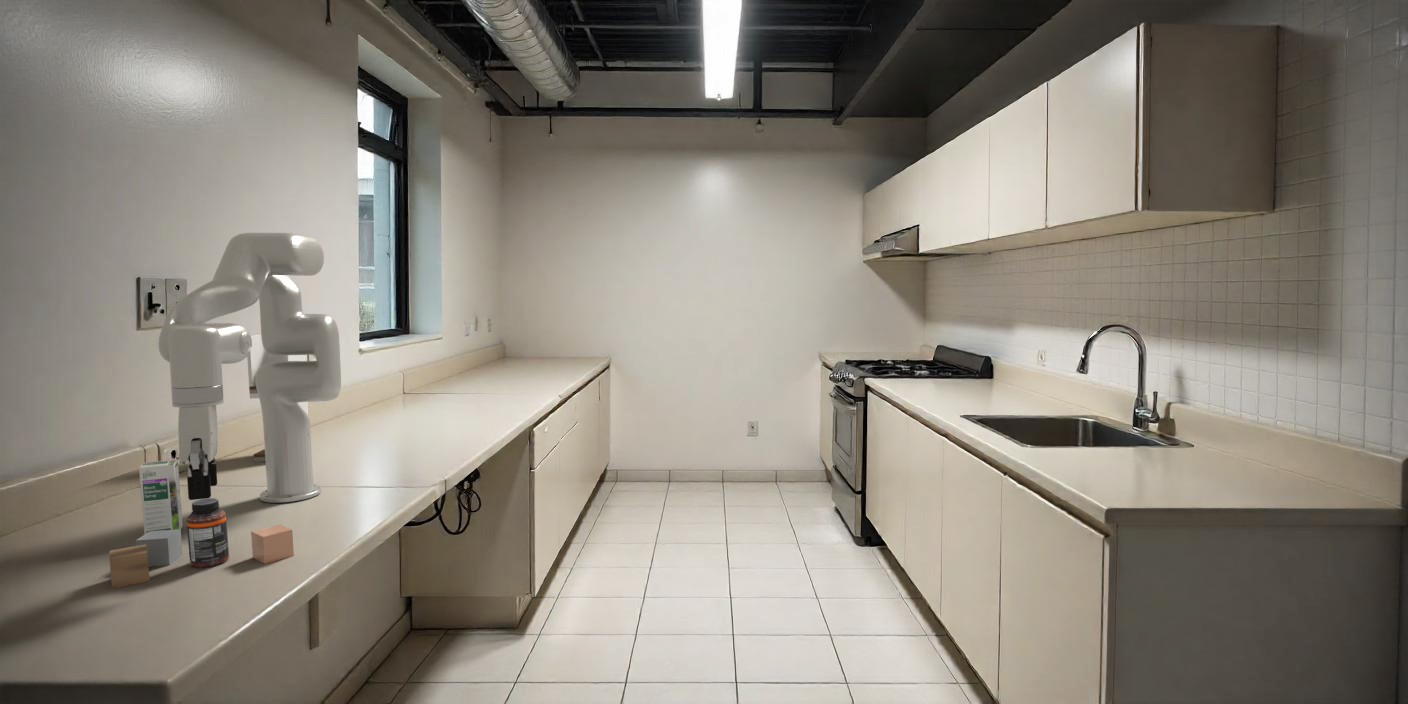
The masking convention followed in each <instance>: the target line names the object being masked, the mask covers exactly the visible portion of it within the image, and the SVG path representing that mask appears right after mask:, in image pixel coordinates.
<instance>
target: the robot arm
mask: <svg viewBox="0 0 1408 704" xmlns="http://www.w3.org/2000/svg"><path fill="white" fill-rule="evenodd" d="M324 262H325V255H324V250H323V247H322V245H321V244H320V242H319V241H318V240H317V239H315V238H314V237H311V236H307V235H306V236H305V235H301V234H297V233H291V232H289V233H288V232H242V233H239V234H236V235H234V236H232V238H230V240H229V242H228V243H227V245H226V247H225V250H224V252H223V255H222V257H221V259H220V261H219V263H218V266H217V267H216V271H215V273H214V276H213V278H212V280H210V281H208V282H207V283H204V284H203V285H202V286H200V287H198V288H196V289H195V290H193V291H191V292H190V293H188V294H187V295H185V296H183V297H182V298H181V299H179V300H178V301H177V302H175V304H174V305H172V307H171V308H170V310H169V312H168V314H167V316H166V319H165V320H164V322H163V325H162V327H161V330H160V333H159V337H158V351H159V353H160V356H161V357H162V359H164V360H165V361H167V363H169V371H170V373H169V374H170V386H171V388H170V391H171V402H172V404H171V405H172V407H173V408H178V416H177V417H178V422H177V423H178V425H177V426H178V429H177V430H178V431H177V432H178V464H180V465H185V464H186V463H187V462H188V464H187V478H186V479H187V495H188V497H187V498H188V500H189V501H194V500H195V501H197V500H201V499H207V498H212V490H211V489H212V488H211V487H214V486H217V485H218V471H217V463H216V456H217V454H218V443H219V442H218V438H219V437H218V413H217V405H221V404H224V403H225V402H224V400H225V399H224V386H223V372H222V371H223V370H222V369H223V367H222V366H223V365H228V364H230V365H231V364H237V363H240V362H242V361H244V360H245V359H247V356H248V355H249V353H250V351H251V347H252V339H251V336H252V335H251V334H250V332H249V331H248V330H247V328H245V326H242V325H239V324H237V323H228V322H222V323H221V322H220V323H217V322H214V323H212V322H210V323H209V321H211V320H213V319H216V318H219V317H223V316H226V315H229V314H233V313H236V312H239V311H241V310H244V309H247V308H248V307H251V306H253V305H254V304H256V303H257V302H258V301H259V302H258V303H259V316H260V320H259V321H260V334H261V337H262V344H263V347H264V349H265V351H266V352H267V353H270V354H273V355H305V356H309V355H310V356H313V357H315V360H305V361H279V362H272V363H268V364H265V365H264V366H262V367H261V368H260V369H259V370H258V372H257V374H256V388H257V392H258V395H259V398H258V399H259V403H260V408H261V414H262V416H261V417H262V425H263V426H262V427H263V428H262V429H263V442H264V445H263V446H264V449H265V461H264V462H265V474H266V477H265V478H266V490H264V491H262V492H260V494H259V500H260V501H262V502H265V503H271V504H272V503H273V504H274V503H276V504H277V503H278V504H279V503H280V504H281V503H292V502H297V501H298V502H299V501H302V500H307V499H311V498H314V497H316V496H318V495H320V494H321V492H322V488H321V486H320V485H318V484H314V471H313V455H312V454H313V453H312V437H311V434H312V433H311V421H310V417H309V414H308V415H307V414H306V412H305V411H304V410H303V409H302V408H301V406H300V405H299V404H298V403H299V402H308V403H310V402H311V403H313V402H330V401H334V400H336V399H337V397H338V396H339V395H340V392H341V389H342V388H341V387H342V373H341V372H342V369H341V367H342V365H341V350H340V349H341V348H340V333H339V328H338V325H337V323H336V320H334V318H333V317H332V316H330V315H328V314H325V313H304V312H303V305H302V304H303V303H302V292H301V290H300V289H299V286H298V285H297V284H296V282H294V280H293V279H292V278H291V277H292V276H295V277H296V276H297V277H298V276H306V277H309V276H315V275H317V274H318V273H320V272H321V270H322V269H323V266H324ZM290 276H291V277H290ZM206 322H207V323H206ZM222 364H223V365H222Z"/></svg>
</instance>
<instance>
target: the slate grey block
mask: <svg viewBox="0 0 1408 704" xmlns="http://www.w3.org/2000/svg"><path fill="white" fill-rule="evenodd" d="M145 544H147V555H148V568H149V567H150V568H151V567H160V566H161V567H163V566H171V565H172V564H173V563H174V562H175V561H177V560H178V559H180V558H181V557H182V556H183V543H182V529H176V530H161V531H149V532H148V533H146V534H145V535H144V534H143V535H142V536H140V537H139V538H137V539H135V546H139V545H145ZM180 556H181V557H180Z"/></svg>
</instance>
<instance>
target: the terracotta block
mask: <svg viewBox="0 0 1408 704" xmlns="http://www.w3.org/2000/svg"><path fill="white" fill-rule="evenodd" d="M250 533H251V535H250V537H251V549H252V551H251V552H252V558H253V559H255V560H257V561H259V562H261V563H263V565H264V564H268V563H272V562H276V561H279V560H282V559H286V558H290V557H291V558H292V557H293V556H295V553H294V536H293V529H292V528H289V527H287V526H285V525H284V524H283V525H282V524H275V525H271V526H268V527H264V528H263V527H262V528H258V529H256V530H252V531H250Z"/></svg>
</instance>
